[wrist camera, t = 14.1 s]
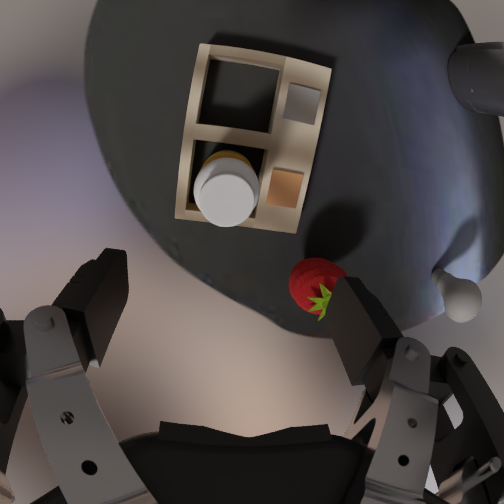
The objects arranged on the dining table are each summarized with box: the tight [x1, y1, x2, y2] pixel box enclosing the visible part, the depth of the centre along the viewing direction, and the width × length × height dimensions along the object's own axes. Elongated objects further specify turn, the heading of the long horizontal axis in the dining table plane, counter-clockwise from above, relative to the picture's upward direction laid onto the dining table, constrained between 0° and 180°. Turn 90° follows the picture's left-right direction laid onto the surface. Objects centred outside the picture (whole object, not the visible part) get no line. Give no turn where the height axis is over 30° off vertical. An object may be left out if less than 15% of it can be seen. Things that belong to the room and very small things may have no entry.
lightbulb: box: [431, 268, 482, 322], centre depth 32 cm, size 6×6×11 cm
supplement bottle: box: [194, 150, 260, 227], centre depth 24 cm, size 5×5×10 cm
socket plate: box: [175, 44, 332, 234], centre depth 25 cm, size 18×12×3 cm
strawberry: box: [289, 257, 348, 321], centre depth 29 cm, size 6×8×10 cm
